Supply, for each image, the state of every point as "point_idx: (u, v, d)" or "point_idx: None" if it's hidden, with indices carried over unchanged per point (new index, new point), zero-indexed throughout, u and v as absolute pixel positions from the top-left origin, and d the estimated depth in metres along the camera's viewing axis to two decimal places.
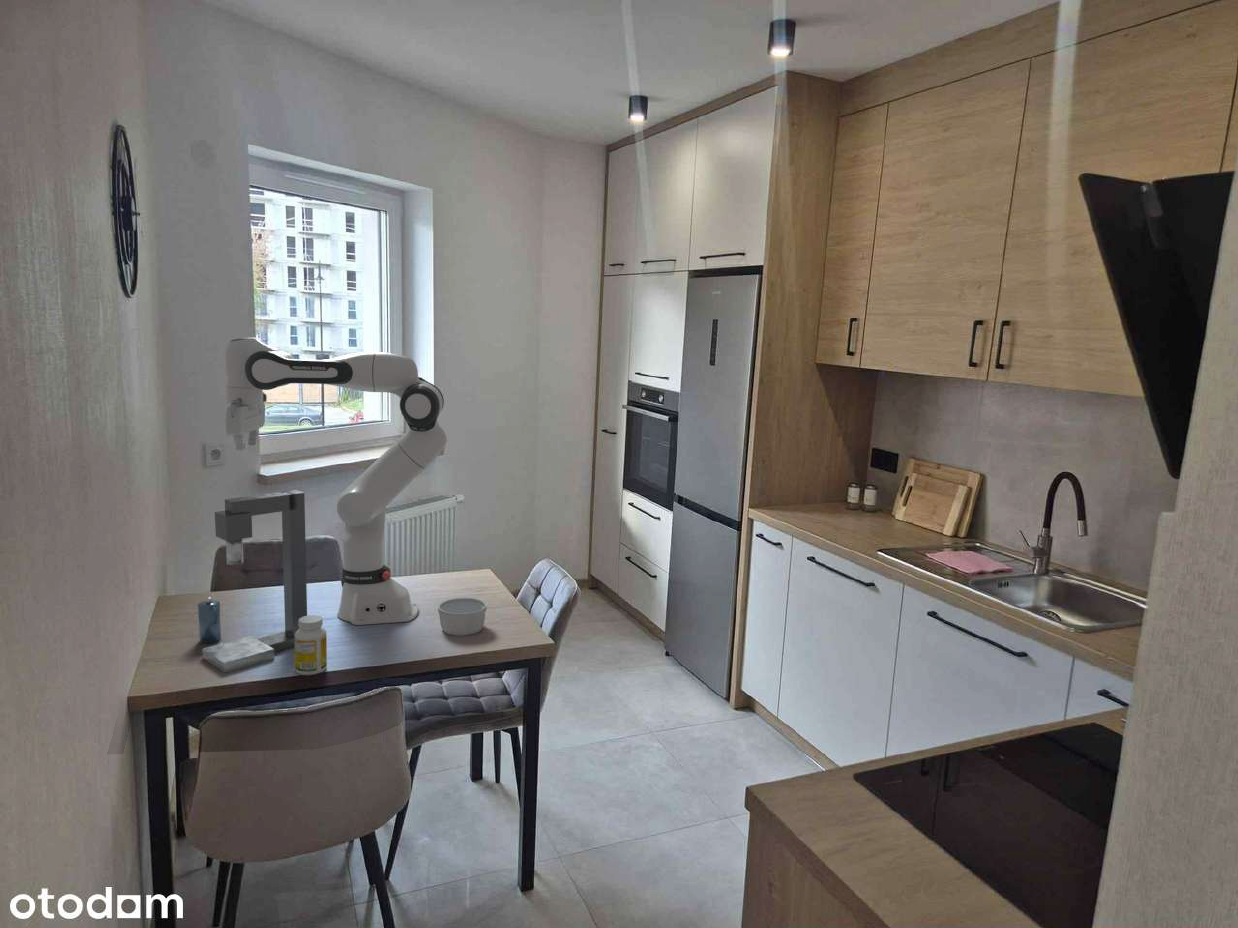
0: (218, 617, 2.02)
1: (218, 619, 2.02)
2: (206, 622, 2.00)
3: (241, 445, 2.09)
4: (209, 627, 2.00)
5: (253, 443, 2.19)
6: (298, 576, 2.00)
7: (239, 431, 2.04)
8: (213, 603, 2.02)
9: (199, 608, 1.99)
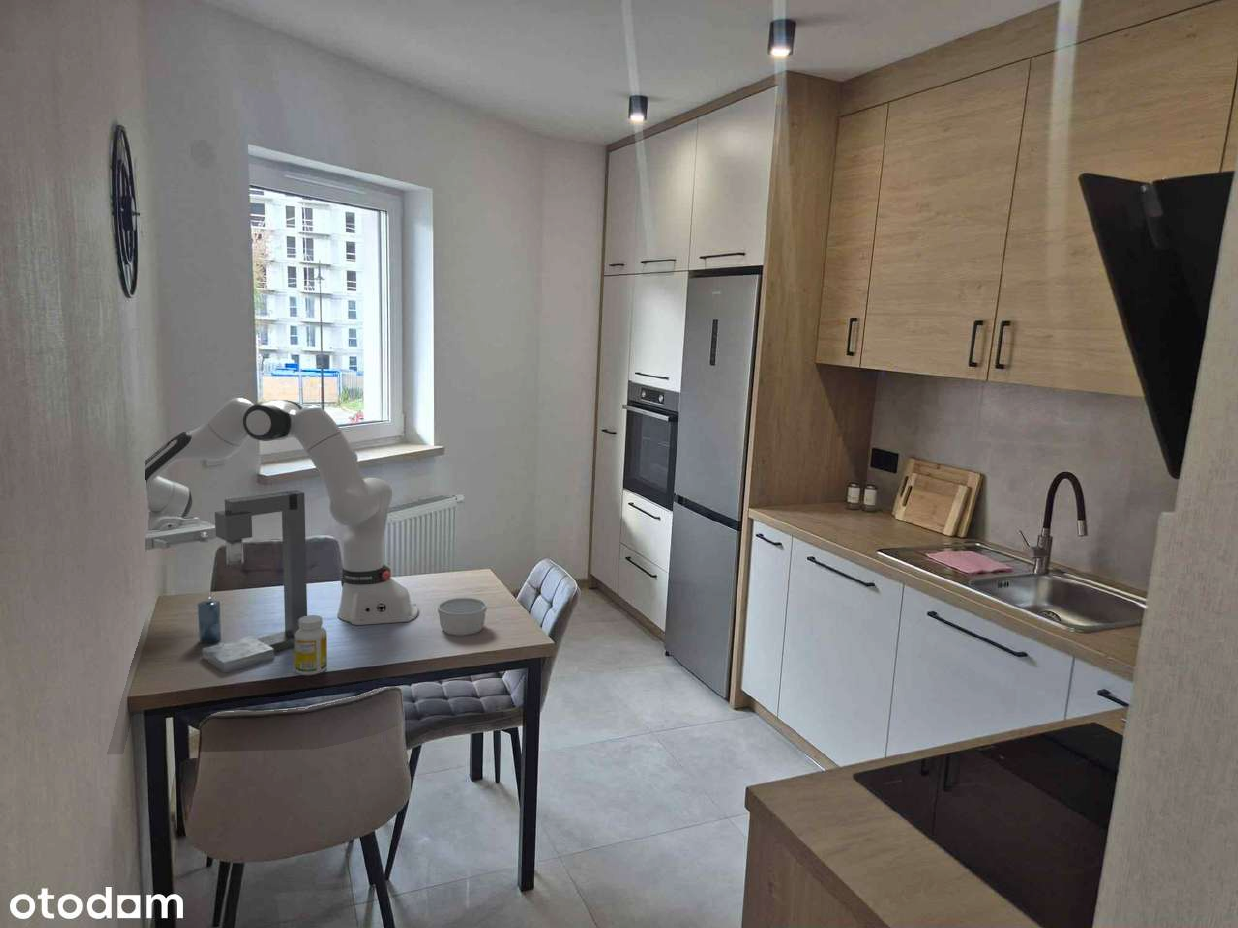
0: (218, 617, 2.02)
1: (218, 619, 2.02)
2: (206, 621, 2.00)
3: (162, 543, 2.03)
4: (209, 627, 2.00)
5: (201, 537, 2.10)
6: (298, 576, 2.00)
7: None
8: (213, 603, 2.02)
9: (199, 608, 1.99)
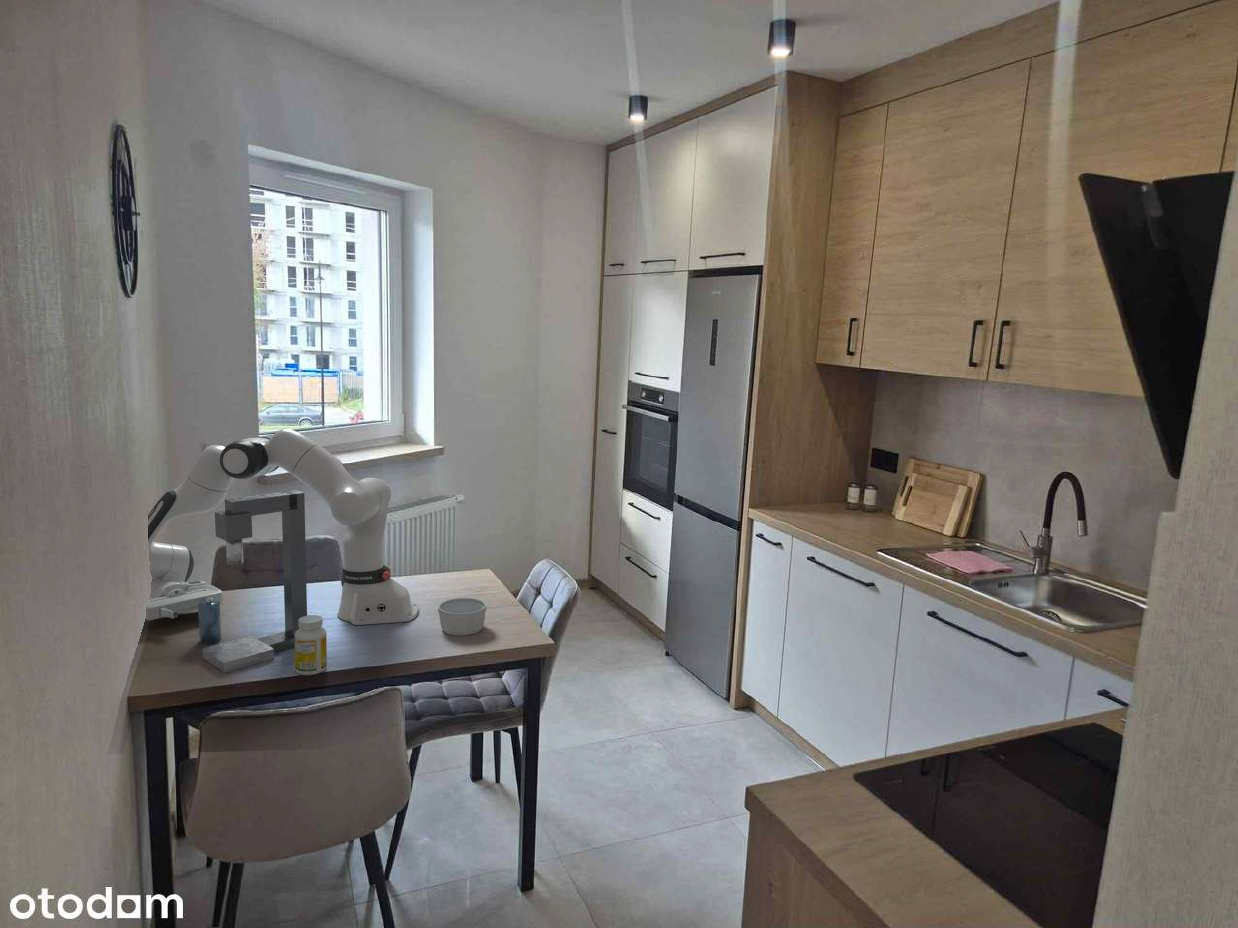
0: (218, 617, 2.02)
1: (218, 619, 2.02)
2: (206, 621, 2.00)
3: (169, 612, 2.05)
4: (209, 627, 2.00)
5: None
6: (298, 576, 2.00)
7: None
8: (213, 603, 2.02)
9: (199, 608, 1.99)
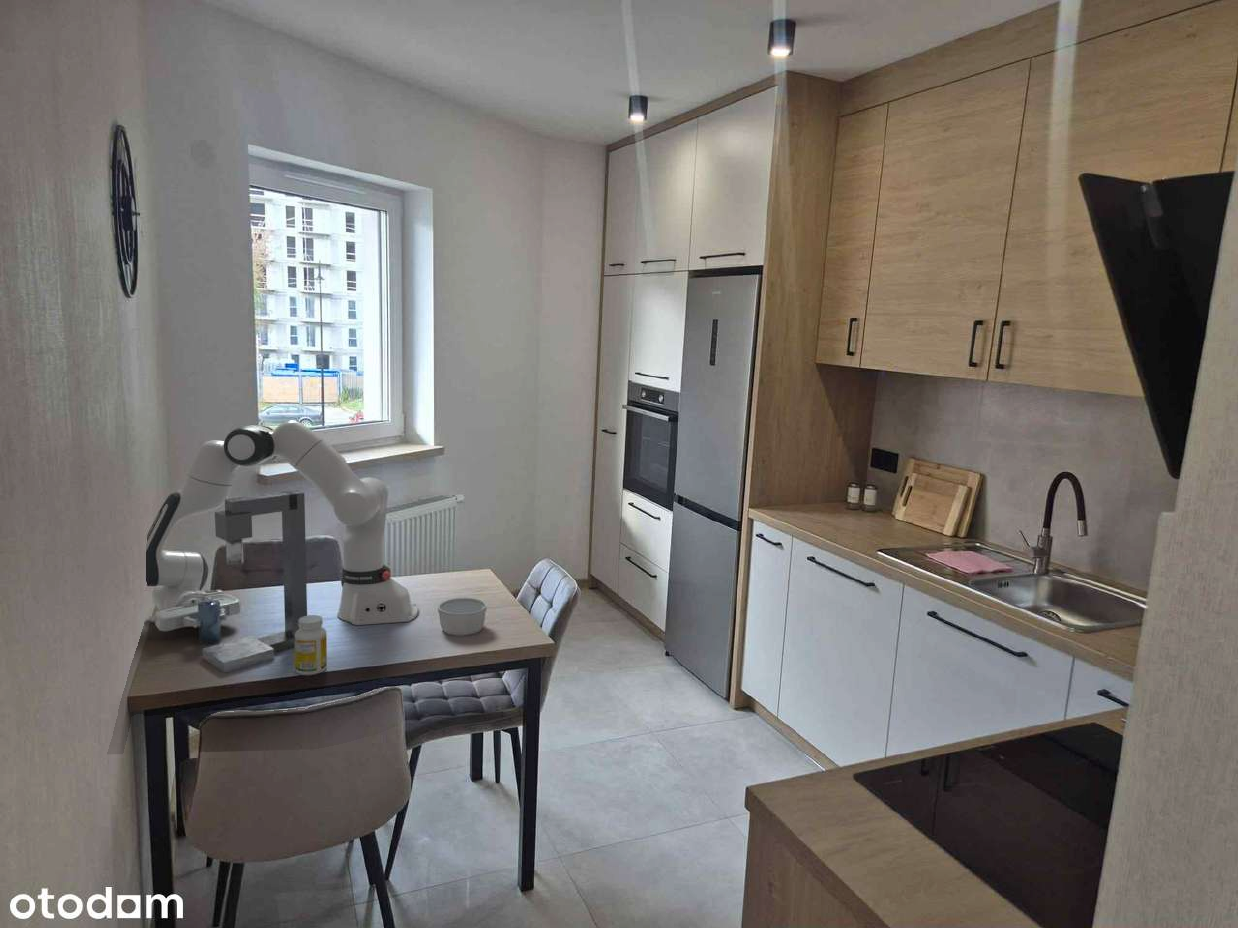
0: (218, 617, 2.02)
1: (218, 619, 2.02)
2: (206, 621, 2.00)
3: (192, 621, 1.99)
4: (209, 627, 2.00)
5: (220, 616, 2.04)
6: (298, 576, 2.00)
7: (160, 619, 1.97)
8: (213, 603, 2.02)
9: (199, 608, 1.99)
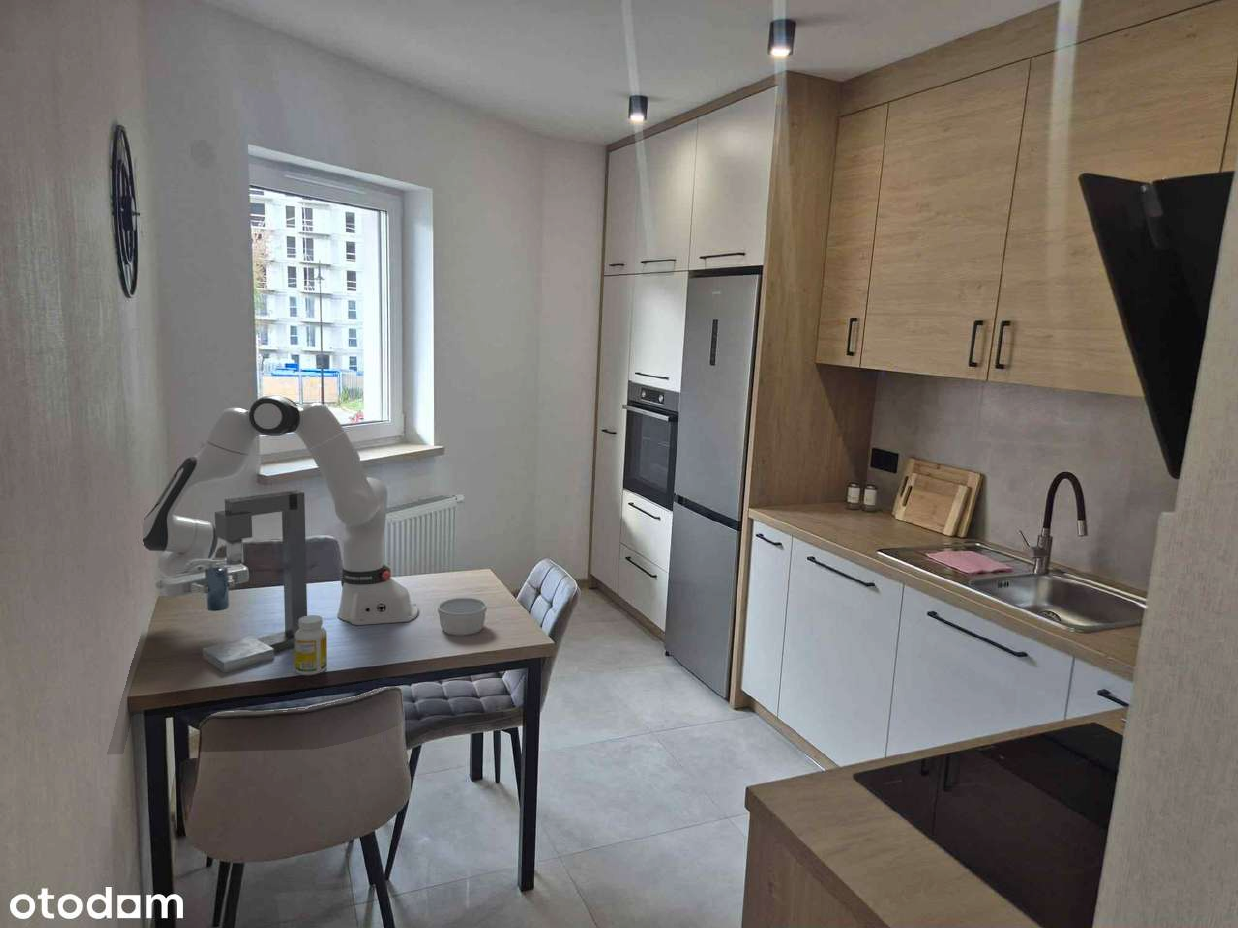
0: (226, 583, 1.97)
1: (226, 585, 1.97)
2: (214, 587, 1.95)
3: (200, 587, 1.95)
4: (216, 593, 1.95)
5: None
6: (298, 576, 2.00)
7: (166, 584, 1.93)
8: (221, 569, 1.97)
9: (206, 574, 1.95)
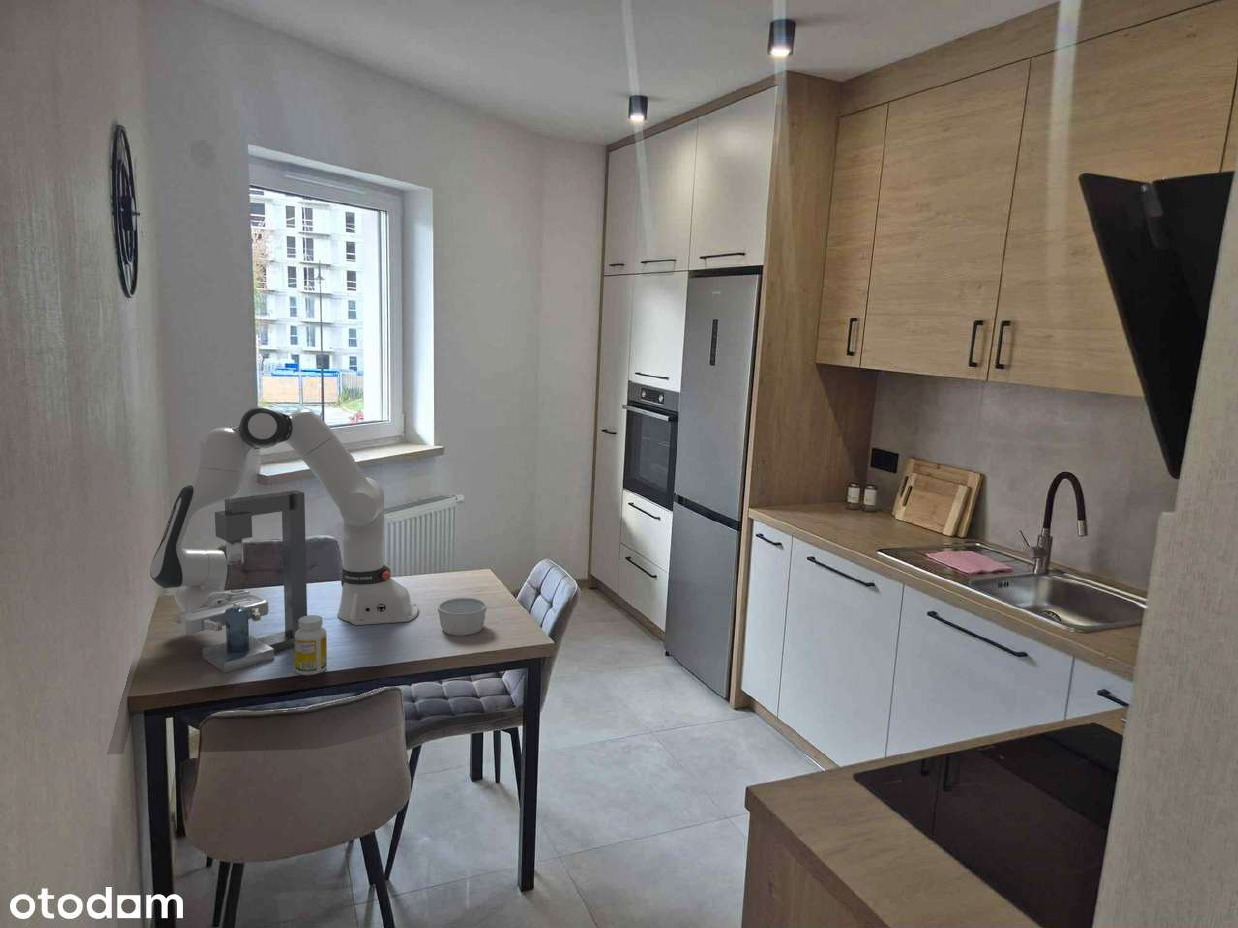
0: (246, 624, 1.91)
1: (246, 626, 1.91)
2: (234, 629, 1.89)
3: (213, 624, 1.88)
4: (237, 635, 1.90)
5: (254, 615, 1.94)
6: (298, 576, 2.00)
7: (185, 620, 1.87)
8: (241, 609, 1.91)
9: (227, 615, 1.89)
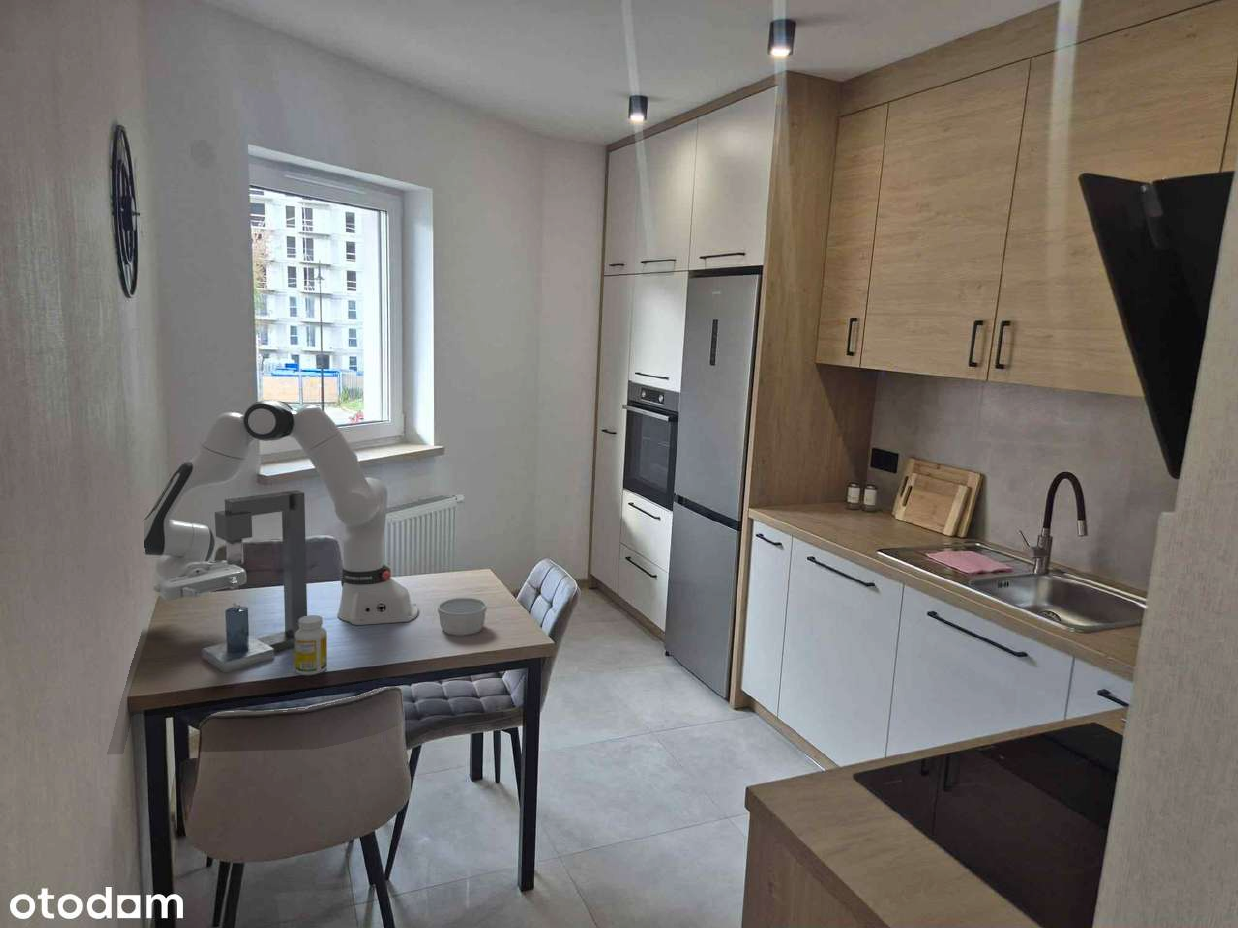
0: (246, 624, 1.91)
1: (246, 626, 1.91)
2: (235, 629, 1.89)
3: (191, 591, 1.95)
4: (237, 635, 1.90)
5: (231, 583, 2.02)
6: (298, 576, 2.00)
7: (164, 588, 1.94)
8: (241, 609, 1.91)
9: (227, 615, 1.89)
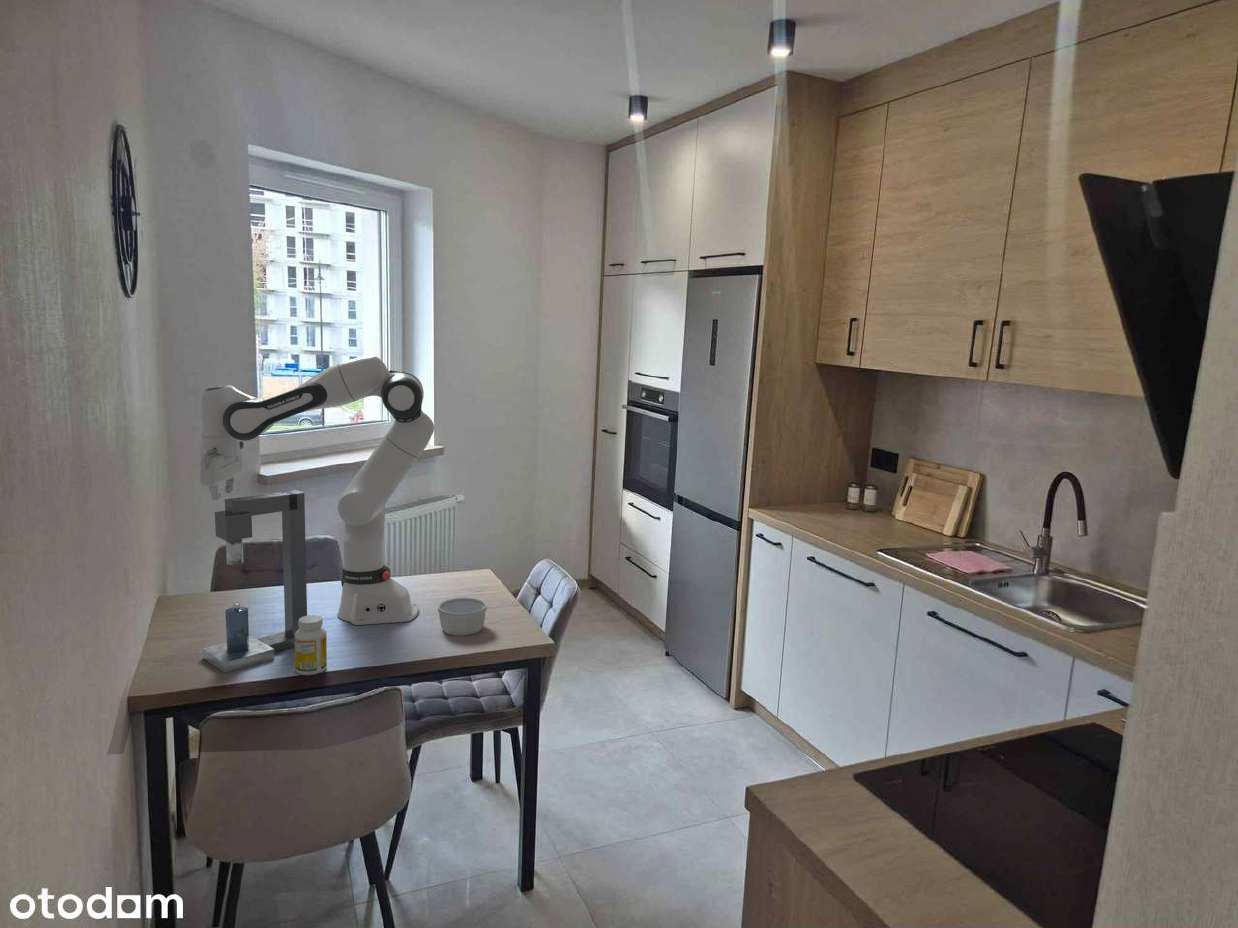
0: (246, 624, 1.91)
1: (246, 626, 1.91)
2: (234, 629, 1.89)
3: (216, 495, 2.07)
4: (237, 635, 1.90)
5: (230, 491, 2.16)
6: (298, 576, 2.00)
7: (213, 482, 2.02)
8: (241, 609, 1.91)
9: (227, 615, 1.89)
